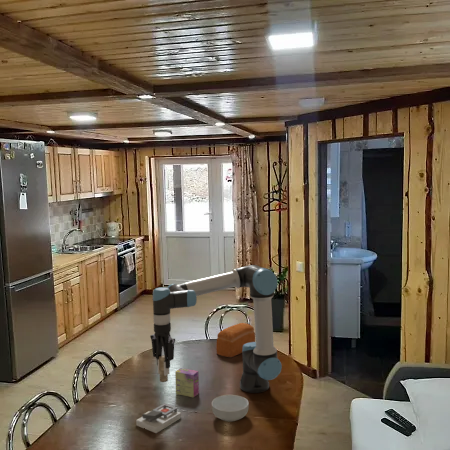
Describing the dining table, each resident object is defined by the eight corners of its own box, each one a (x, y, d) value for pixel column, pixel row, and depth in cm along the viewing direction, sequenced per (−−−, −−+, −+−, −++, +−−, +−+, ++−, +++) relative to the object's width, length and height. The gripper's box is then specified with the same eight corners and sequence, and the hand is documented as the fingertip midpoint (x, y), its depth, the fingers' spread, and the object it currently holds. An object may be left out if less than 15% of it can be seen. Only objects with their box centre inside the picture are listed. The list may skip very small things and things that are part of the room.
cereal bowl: (236, 430, 206) (236, 414, 206) (204, 421, 215) (204, 405, 214) (255, 413, 220) (255, 399, 220) (224, 405, 229) (224, 391, 229)
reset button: (171, 413, 219) (171, 410, 219) (165, 416, 215) (165, 413, 215) (164, 411, 221) (164, 407, 221) (158, 414, 218) (158, 411, 218)
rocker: (162, 415, 211) (161, 411, 211) (155, 419, 207) (154, 415, 207) (149, 414, 216) (149, 410, 216) (142, 418, 212) (142, 414, 212)
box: (199, 393, 243) (198, 370, 242) (193, 397, 238) (193, 374, 237) (181, 389, 248) (180, 367, 247) (175, 394, 243) (174, 371, 242)
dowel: (169, 380, 217) (168, 356, 216) (163, 382, 214) (163, 358, 213) (163, 378, 219) (162, 354, 218) (158, 380, 217) (157, 357, 216)
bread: (214, 354, 298) (213, 329, 297) (240, 342, 318) (239, 319, 317) (231, 359, 290) (231, 333, 288) (257, 346, 310) (256, 322, 308)
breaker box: (181, 417, 218) (180, 408, 218) (156, 433, 205) (155, 423, 205) (161, 411, 225) (161, 402, 225) (136, 425, 212) (136, 416, 212)
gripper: (181, 323, 213) (182, 374, 215) (155, 317, 222) (156, 367, 224) (169, 327, 207) (171, 380, 209) (143, 321, 216) (144, 372, 218)
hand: (163, 373), depth 217 cm, fingers closed on dowel, 3 cm apart
